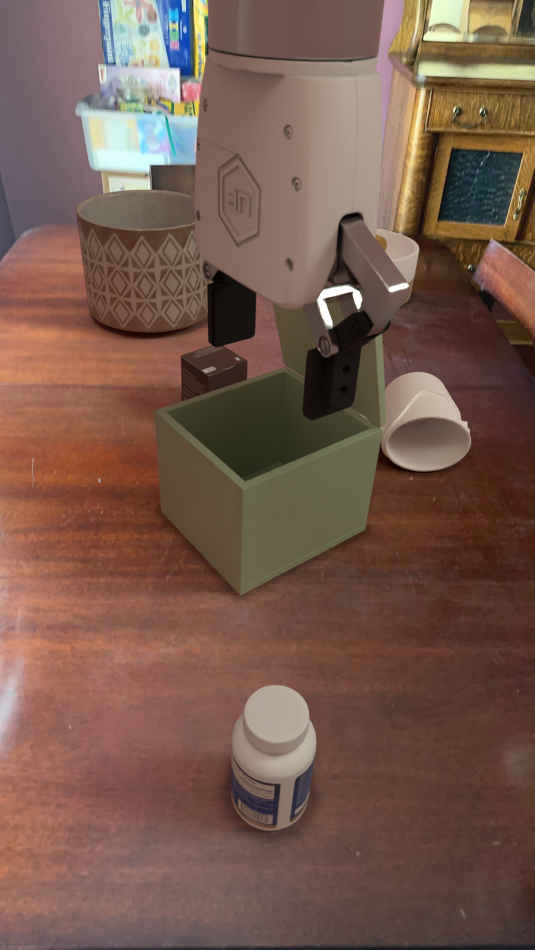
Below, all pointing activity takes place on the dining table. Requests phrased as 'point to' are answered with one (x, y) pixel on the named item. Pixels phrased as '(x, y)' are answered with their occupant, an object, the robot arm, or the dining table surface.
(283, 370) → the chest
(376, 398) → the lid
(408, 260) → the bowl
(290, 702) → the pill bottle
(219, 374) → the box
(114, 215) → the planter
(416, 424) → the mug
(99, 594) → the dining table surface
